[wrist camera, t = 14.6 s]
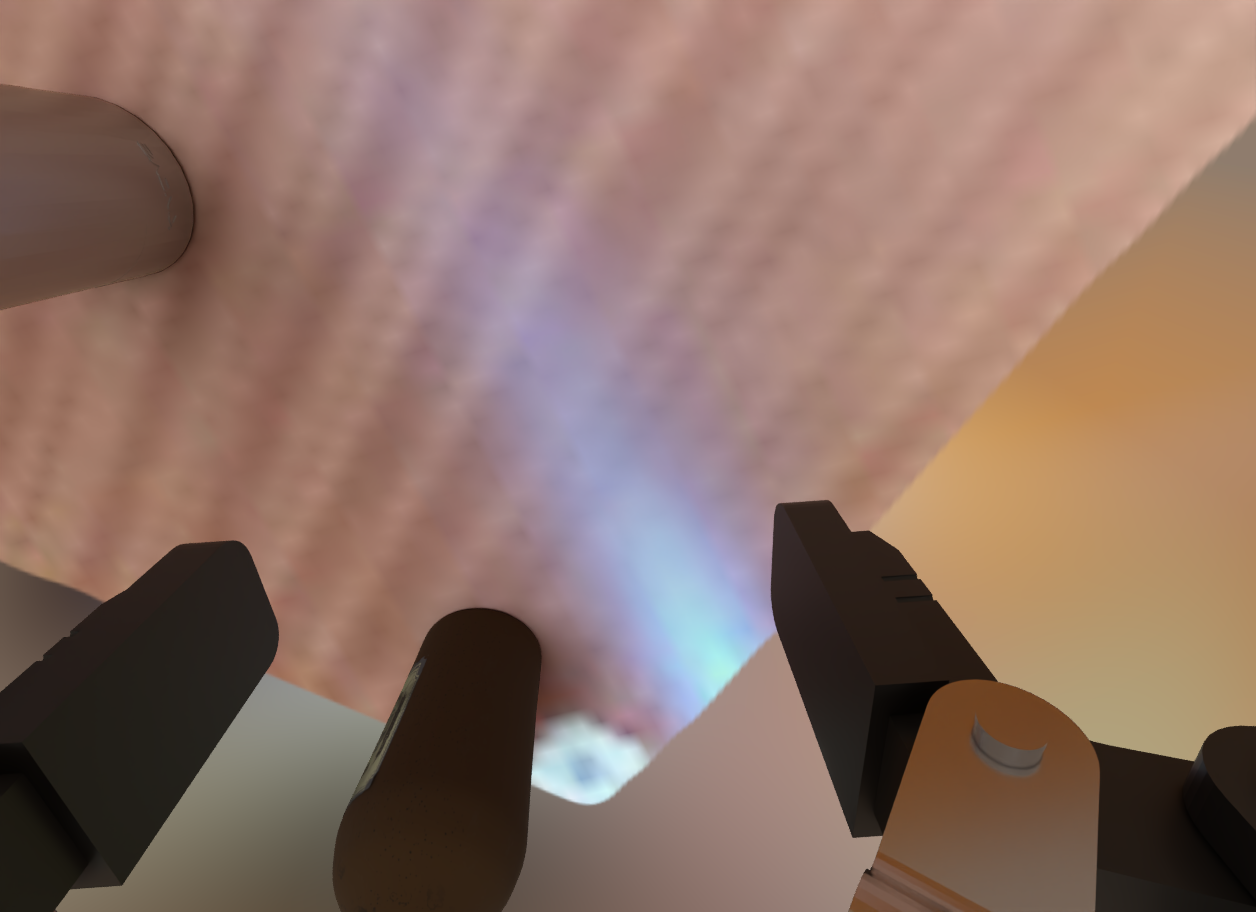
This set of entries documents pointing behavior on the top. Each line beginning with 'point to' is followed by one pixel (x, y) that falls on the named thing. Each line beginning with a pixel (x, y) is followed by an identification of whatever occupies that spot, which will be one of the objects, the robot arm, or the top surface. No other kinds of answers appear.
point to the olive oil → (447, 777)
